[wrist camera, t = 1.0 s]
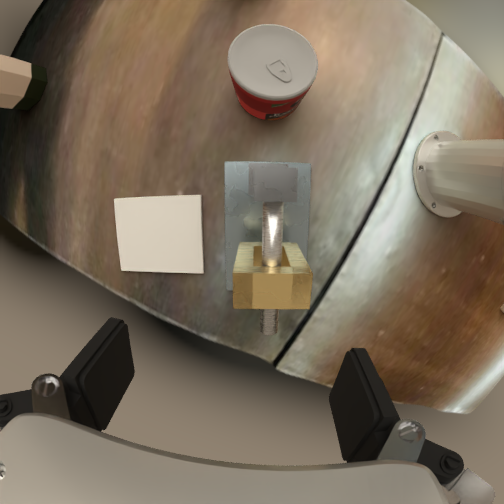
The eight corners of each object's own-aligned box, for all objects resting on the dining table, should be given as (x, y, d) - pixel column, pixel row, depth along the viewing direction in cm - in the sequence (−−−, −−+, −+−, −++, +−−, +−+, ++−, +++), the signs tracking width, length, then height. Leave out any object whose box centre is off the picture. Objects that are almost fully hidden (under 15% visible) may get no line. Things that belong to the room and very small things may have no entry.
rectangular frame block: (296, 242, 29) (312, 273, 20) (294, 269, 30) (309, 308, 21) (239, 241, 29) (232, 272, 20) (239, 268, 30) (233, 308, 21)
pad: (201, 194, 33) (200, 195, 32) (204, 271, 36) (203, 273, 35) (116, 198, 33) (114, 199, 32) (123, 269, 36) (121, 270, 35)
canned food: (273, 134, 31) (281, 116, 20) (222, 95, 29) (207, 63, 19) (313, 91, 29) (337, 60, 18) (263, 54, 27) (265, 10, 17)
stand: (309, 163, 31) (346, 160, 18) (302, 287, 36) (325, 352, 22) (225, 161, 32) (202, 155, 18) (227, 286, 36) (211, 352, 22)
